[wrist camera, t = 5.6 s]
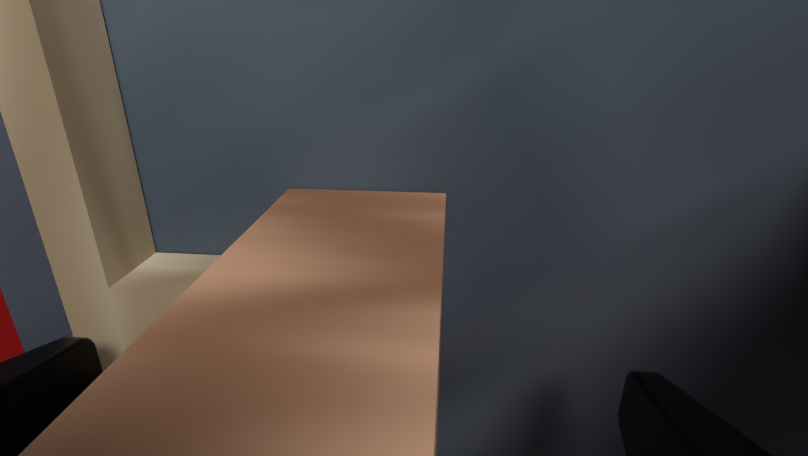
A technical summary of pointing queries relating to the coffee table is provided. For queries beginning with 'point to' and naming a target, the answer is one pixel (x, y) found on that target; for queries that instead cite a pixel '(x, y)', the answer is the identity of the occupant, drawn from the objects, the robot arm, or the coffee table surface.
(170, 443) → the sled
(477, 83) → the coffee table surface
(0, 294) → the puzzle toy
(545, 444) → the coffee table surface
